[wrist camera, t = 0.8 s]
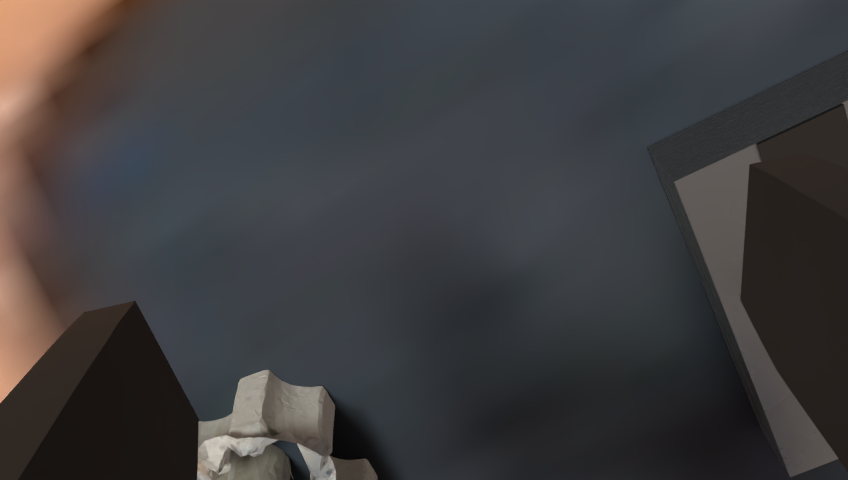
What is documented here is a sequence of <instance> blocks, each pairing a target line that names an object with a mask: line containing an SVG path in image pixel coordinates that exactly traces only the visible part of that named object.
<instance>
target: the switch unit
mask: <svg viewBox="0 0 848 480" xmlns="http://www.w3.org/2000/svg"><path fill="white" fill-rule="evenodd" d="M647 148H648V151H649V153H650V156H651V158H652V161H653V163H654V166H655V168H656V171H657V173H658V176H659V178H660V180H661V183H662V185H663V188H664V190H665V193H666V195H667V198H668V200H669V203H670V205H671V208H672V210H673V213H674V215H675V218H676V220H677V223H678V225H679V228H680V230H681V233H682V235H683V238H684V240H685V243H686V245H687V248H688V250H689V253H690V255H691V257H692V260H693V262H694V265H695V267H696V270H697V272H698V275H699V277H700V280H701V282H702V285H703V287H704V290H705V292H706V295H707V297H708V300H709V302H710V305H711V307H712V310H713V312H714V315H715V317H716V320H717V322H718V325H719V327H720V330H721V332H722V335H723V337H724V339H725V342H726V344H727V347H728V349H729V352H730V354H731V357H732V359H733V362H734V364H735V367H736V369H737V372H738V374H739V377H740V379H741V382H742V384H743V387H744V389H745V392H746V394H747V397H748V399H749V402H750V404H751V407H752V409H753V412H754V414H755V416H756V419H757V421H758V424H759V426H760V429H761V431H762V433H763V434H764V436H765V438H766V439H767V441H768V442H769V444H770V446H771V447H772V449H773V451H774V452H775V454H776V455H777V457H778V459H779V460H780V462H781V463H782V465H783V467H784V468H785V470H786V472H787V473H788V475H789V476H790V477H793V476H795V475H798V474H800V473H803V472H806V471H808V470H811V469H813V468H816V467H819V466H821V465H824V464H826V463H829V462H832V461H834V460H837V459H839V458H838V457H837V456H836V454H835V453H834V451H833V450H832V449H831V447H830V446H829V444H828V443H827V442H826V440H825V439H824V437H823V436H822V435H821V433H820V432H819V430H818V429H817V428H816V426H815V425H814V423H813V422H812V420H811V419H810V418H809V416H808V415H807V413H806V412H805V410H804V409H803V408H802V406H801V405H800V403H799V402H798V401H797V399H796V398H795V396H794V395H793V393H792V392H791V391H790V389H789V388H788V386H787V385H786V383H785V382H784V380H783V379H782V377H781V376H780V374H779V373H778V372H777V370H776V368H775V366H774V364H773V362H772V360H771V359H770V357H769V355H768V353H767V351H766V349H765V348H764V346H763V344H762V342H761V340H760V338H759V336H758V334H757V332H756V330H755V328H754V326H753V324H752V322H751V320H750V318H749V316H748V314H747V312H746V310H745V308H744V306H743V304H742V302H741V300H740V296H741V282H742V267H743V252H744V238H745V223H746V208H747V194H748V179H749V164H753V163H758V162H762V161H767V160H771V159H776V158H780V157H785V156H789V155H794V154H798V153H805V154H808V155H811V156H814V157H817V158H821V159H823V160H826V161H829V162H832V163H834V164H837V165H839V166H842V167H845V168H847V169H848V51H847V52H845V53H843V54H841V55H839V56H837V57H835V58H832V59H830V60H828V61H826V62H824V63H822V64H820V65H818V66H816V67H814V68H812V69H810V70H808V71H805V72H803V73H801V74H799V75H797V76H795V77H793V78H791V79H789V80H787V81H785V82H783V83H780V84H778V85H776V86H774V87H772V88H770V89H768V90H766V91H764V92H762V93H760V94H758V95H756V96H753V97H751V98H749V99H747V100H745V101H743V102H741V103H739V104H737V105H735V106H733V107H731V108H729V109H726V110H724V111H722V112H720V113H718V114H716V115H714V116H712V117H710V118H708V119H706V120H704V121H702V122H699V123H697V124H695V125H693V126H691V127H689V128H687V129H685V130H683V131H681V132H679V133H677V134H674V135H672V136H670V137H668V138H666V139H664V140H662V141H660V142H658V143H656V144H654V145H652V146H650V147H647Z"/></svg>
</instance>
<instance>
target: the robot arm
mask: <svg viewBox="0 0 848 480" xmlns="http://www.w3.org/2000/svg"><path fill="white" fill-rule="evenodd" d="M740 300H741V302H742V304H743V306H744V308H745V310H746V312H747V314H748V316H749V318H750V320H751V322H752V324H753V326H754V328H755V330H756V332H757V334H758V336H759V338H760V340H761V342H762V344H763V346H764V348H765V349H766V351H767V353H768V355H769V357H770V359H771V360H772V362H773V364H774V366H775V368H776V370H777V372H778V373H779V374H780V376H781V377H782V379H783V380H784V382H785V383H786V385H787V386H788V388H789V389H790V391H791V392H792V393H793V395H794V396H795V398H796V399H797V401H798V402H799V403H800V405H801V406H802V408H803V409H804V410H805V412H806V413H807V415H808V416H809V418H810V419H811V420H812V422H813V423H814V425H815V426H816V428H817V429H818V430H819V432H820V433H821V435H822V436H823V437H824V439H825V440H826V442H827V443H828V444H829V446H830V447H831V449H832V450H833V451H834V453H835V454H836V456H837V457H838V458H839V460H840V461H841V463H842V464H843V465H844V467H845V468H846V470H847V471H848V169H847V168H845V167H842V166H839V165H837V164H834V163H832V162H829V161H826V160H823V159H821V158H817V157H814V156H811V155H808V154H805V153H798V154H794V155H789V156H785V157H780V158H776V159H771V160H767V161H762V162H758V163H753V164H749V179H748V194H747V208H746V223H745V238H744V252H743V267H742V282H741V296H740ZM198 426H199V419H198V417H197V415H196V413H195V411H194V409H193V408H192V406H191V404H190V402H189V400H188V398H187V396H186V395H185V393H184V391H183V389H182V387H181V385H180V383H179V382H178V380H177V378H176V376H175V374H174V372H173V370H172V368H171V367H170V365H169V363H168V361H167V359H166V357H165V355H164V354H163V352H162V350H161V348H160V346H159V344H158V342H157V341H156V339H155V337H154V335H153V333H152V331H151V329H150V328H149V326H148V324H147V322H146V320H145V318H144V316H143V314H142V313H141V311H140V309H139V307H138V305H137V303H136V301H133V302H129V303H124V304H120V305H115V306H111V307H106V308H102V309H97V310H93V311H88V312H84V313H83V314H82V315H81V316H80V317H79V318H78V319H77V320H76V321H75V322H74V323H73V324H72V325H71V326H70V327H69V328H68V329H67V330H66V331H65V332H64V333H63V334H62V335H61V336H60V337H59V338H58V340H57V341H56V342H55V343H54V344H53V345H52V346H51V347H50V348H49V349H48V351H47V352H46V353H45V354H44V355H43V356H42V357H41V358H40V359H39V361H38V362H37V363H36V364H35V365H34V366H33V367H32V368H31V370H30V371H29V372H28V373H27V374H26V375H25V376H24V377H23V379H22V380H21V381H20V382H19V383H18V384H17V385H16V386H15V388H14V389H13V390H12V391H11V392H10V393H9V394H8V396H7V397H6V398H5V399H4V400H3V401H2V402H1V403H0V480H197V470H198Z"/></svg>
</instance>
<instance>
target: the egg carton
mask: <svg viewBox="0 0 848 480" xmlns="http://www.w3.org/2000/svg"><path fill="white" fill-rule="evenodd" d="M334 415H335V405H334V403H333V401H332V400H331V398H330V397H329V395H328V393H327V390H325V389H324V388H323V386H316V387H300V386H293V385H290V384H288V383H285V382H283V381H281V380H280V379H279V378H277V377H276V376H275V375H274V374H273V373H272V372H271V371H269V370H264V371H261V372H258V373H255V374H252V375H249V376H247V377H244V378H242V379H240V381H239V383H238V389H237V393H236V397H235V402H234V407H233V413H232V414H230V415H229V416H227V417H225V418H222V419H218V420H214V421H208V422H201V421H199V426H198V470H197V480H290V473H291V465H290V459H289V457H288V456H287V455H286V454H285V452H284V451H283V450H281V449H280V448H278V447H277V446H275V445H273V444H271V443H273V442H275V441H277V440H282V441H287V442H293V443H297V445H298V447H299V449H300V451H301V453H302V455H303V457H304V459H305V461H306V464H307V466H308V468H309V471H310V480H377V478H378V477H377V475H376V473H375V471H374V469H373V468H372V467H371V464H370V463H369V461H368V460H367V459H356V460H343V459H338V458H335V457H332V456H330V454H331V453H332V443H333V427H334ZM291 475H292V473H291ZM292 478H293V476H292ZM293 480H294V479H293Z"/></svg>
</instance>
